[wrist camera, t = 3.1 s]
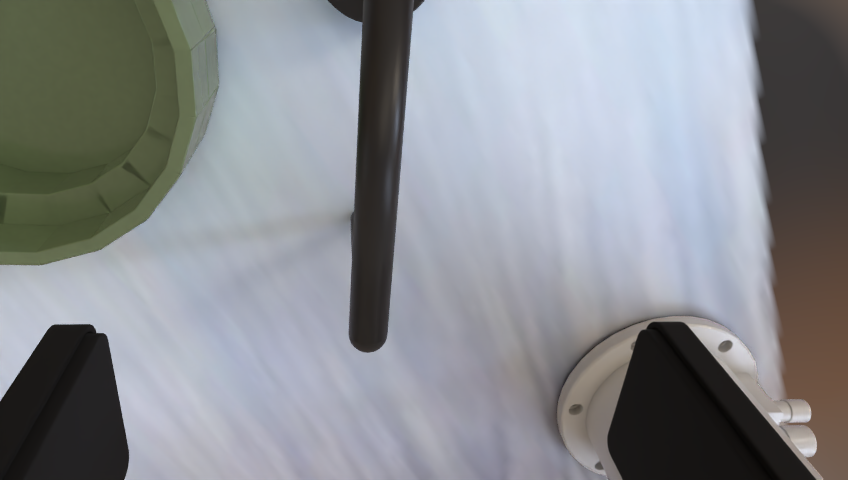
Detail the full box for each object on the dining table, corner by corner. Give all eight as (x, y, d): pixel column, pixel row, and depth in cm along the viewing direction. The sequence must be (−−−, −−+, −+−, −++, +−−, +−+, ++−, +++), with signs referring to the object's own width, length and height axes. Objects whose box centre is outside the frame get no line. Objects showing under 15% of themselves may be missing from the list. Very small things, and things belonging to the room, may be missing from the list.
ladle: (408, 228, 32) (436, 360, 23) (310, 225, 31) (296, 360, 22) (439, -109, 25) (497, -120, 16) (313, -122, 24) (295, -143, 15)
